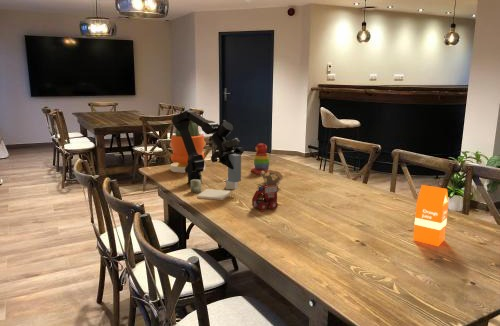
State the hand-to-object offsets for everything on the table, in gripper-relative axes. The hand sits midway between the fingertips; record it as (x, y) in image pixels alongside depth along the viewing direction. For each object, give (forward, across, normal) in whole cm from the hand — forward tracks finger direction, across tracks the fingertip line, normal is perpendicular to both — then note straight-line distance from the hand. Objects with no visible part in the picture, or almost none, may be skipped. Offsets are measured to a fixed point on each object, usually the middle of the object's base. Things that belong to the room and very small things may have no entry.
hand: (236, 168), depth 203 cm
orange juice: (+73, +7, -55) cm, 92 cm away
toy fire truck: (+26, -6, -7) cm, 28 cm away
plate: (+5, -8, +14) cm, 17 cm away
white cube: (+2, +8, +17) cm, 19 cm away
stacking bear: (-7, +46, +26) cm, 53 cm away
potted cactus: (-32, +18, +51) cm, 63 cm away
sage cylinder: (-3, -11, +22) cm, 25 cm away
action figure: (+10, +25, +10) cm, 29 cm away
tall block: (+4, 0, +6) cm, 7 cm away
